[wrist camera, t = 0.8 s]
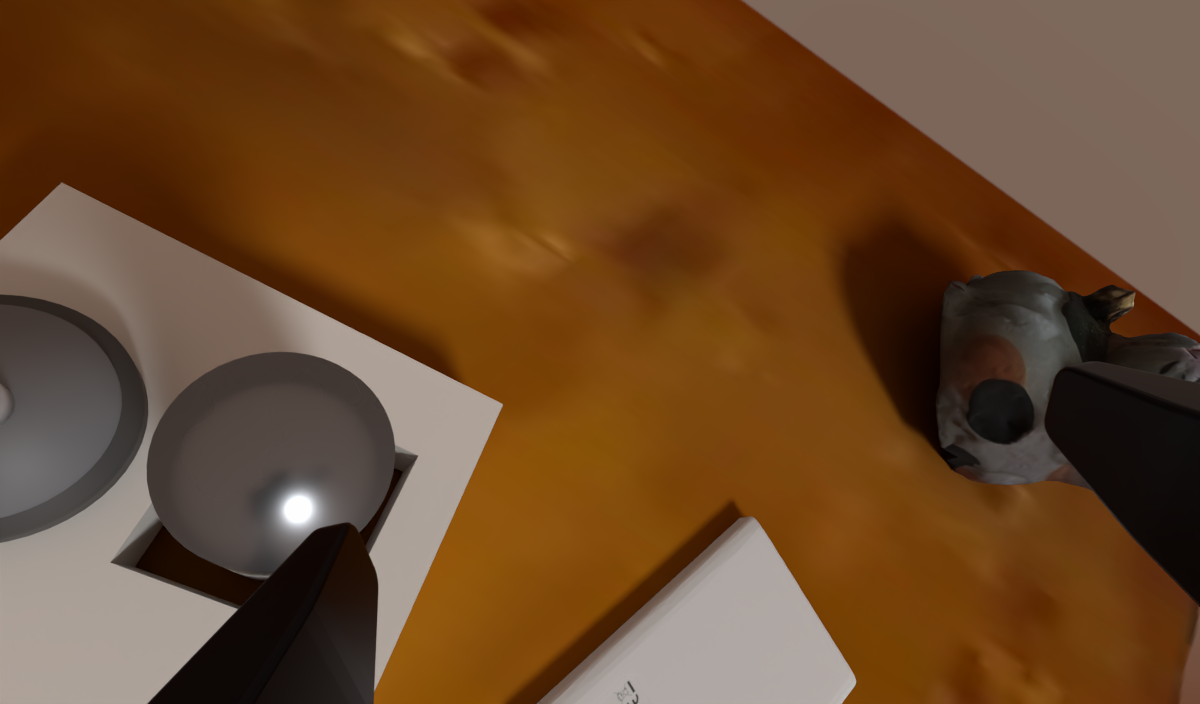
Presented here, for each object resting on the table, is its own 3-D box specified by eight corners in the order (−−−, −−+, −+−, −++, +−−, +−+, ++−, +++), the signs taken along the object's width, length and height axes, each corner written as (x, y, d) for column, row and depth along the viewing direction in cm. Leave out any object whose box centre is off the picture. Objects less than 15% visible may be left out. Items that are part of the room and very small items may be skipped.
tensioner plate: (300, 813, 17) (305, 891, 13) (-302, 639, 14) (-587, 660, 9) (479, 424, 23) (526, 384, 19) (90, 234, 20) (32, 128, 15)
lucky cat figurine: (987, 279, 42) (1292, 274, 32) (975, 453, 43) (1269, 499, 33) (912, 262, 32) (1333, 248, 22) (898, 494, 32) (1299, 581, 23)
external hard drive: (832, 679, 27) (632, 942, 20) (731, 518, 28) (505, 722, 21) (861, 684, 26) (658, 966, 19) (754, 514, 26) (520, 731, 20)
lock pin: (309, 601, 19) (328, 607, 11) (178, 551, 18) (87, 515, 10) (372, 482, 21) (429, 409, 13) (256, 431, 20) (236, 315, 12)
